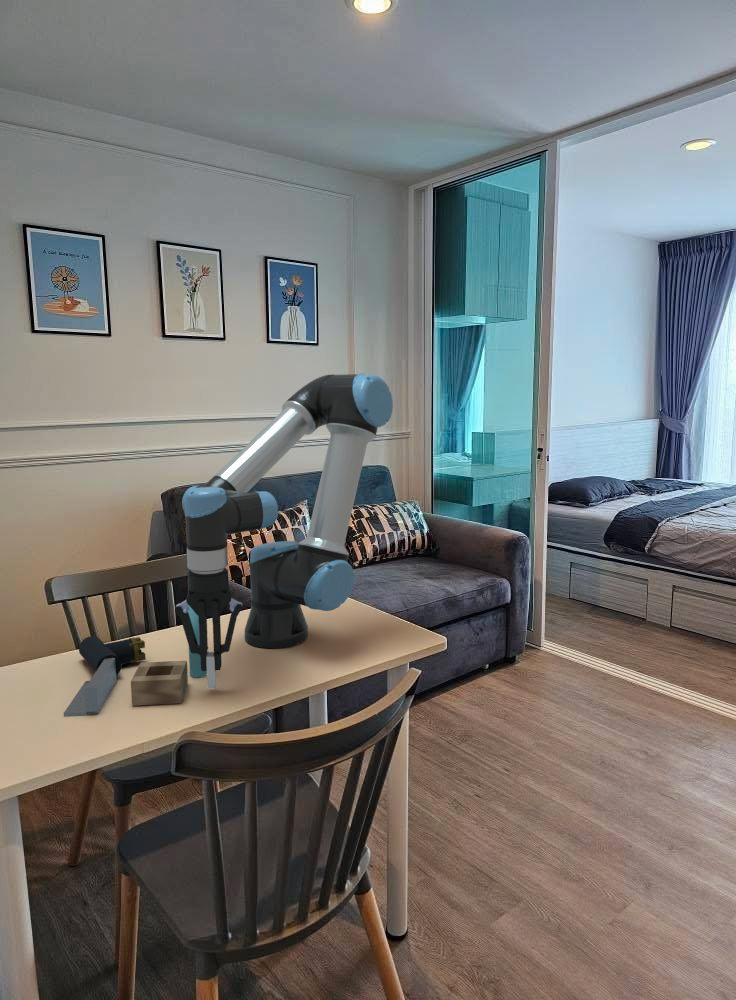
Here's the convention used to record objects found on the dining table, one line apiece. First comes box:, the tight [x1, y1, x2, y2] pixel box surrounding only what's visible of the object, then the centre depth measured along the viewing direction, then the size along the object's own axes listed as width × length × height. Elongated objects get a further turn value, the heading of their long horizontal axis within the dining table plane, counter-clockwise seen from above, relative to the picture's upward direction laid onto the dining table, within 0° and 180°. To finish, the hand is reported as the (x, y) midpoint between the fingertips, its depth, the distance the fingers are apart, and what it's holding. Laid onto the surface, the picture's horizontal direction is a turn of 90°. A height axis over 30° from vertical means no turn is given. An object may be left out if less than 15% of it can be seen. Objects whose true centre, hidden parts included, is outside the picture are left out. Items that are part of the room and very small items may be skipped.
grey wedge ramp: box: [63, 658, 118, 717], centre depth 131 cm, size 6×14×5 cm, turn 7°
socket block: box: [130, 660, 189, 707], centre depth 132 cm, size 9×9×5 cm
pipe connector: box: [78, 635, 147, 677], centre depth 146 cm, size 12×5×15 cm
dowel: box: [188, 605, 207, 679], centre depth 141 cm, size 3×3×16 cm
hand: (212, 685), depth 133 cm, fingers closed
